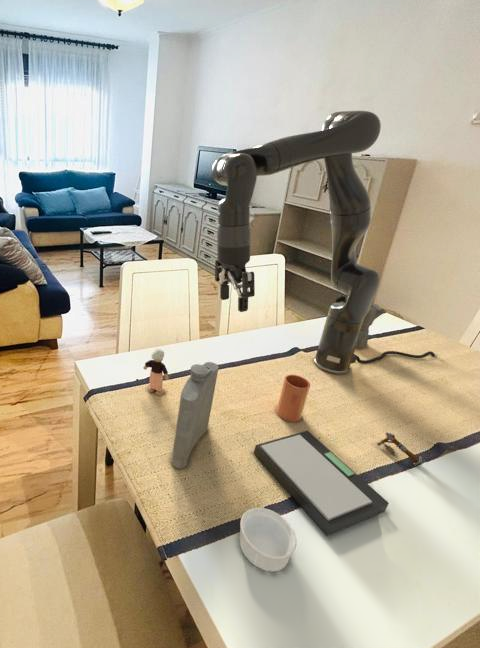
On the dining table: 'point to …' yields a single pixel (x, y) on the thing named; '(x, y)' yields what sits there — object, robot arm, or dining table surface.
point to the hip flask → (194, 411)
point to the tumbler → (293, 397)
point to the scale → (320, 482)
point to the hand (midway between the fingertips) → (233, 304)
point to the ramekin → (266, 539)
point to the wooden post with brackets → (401, 447)
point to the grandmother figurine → (157, 372)
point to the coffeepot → (365, 322)
